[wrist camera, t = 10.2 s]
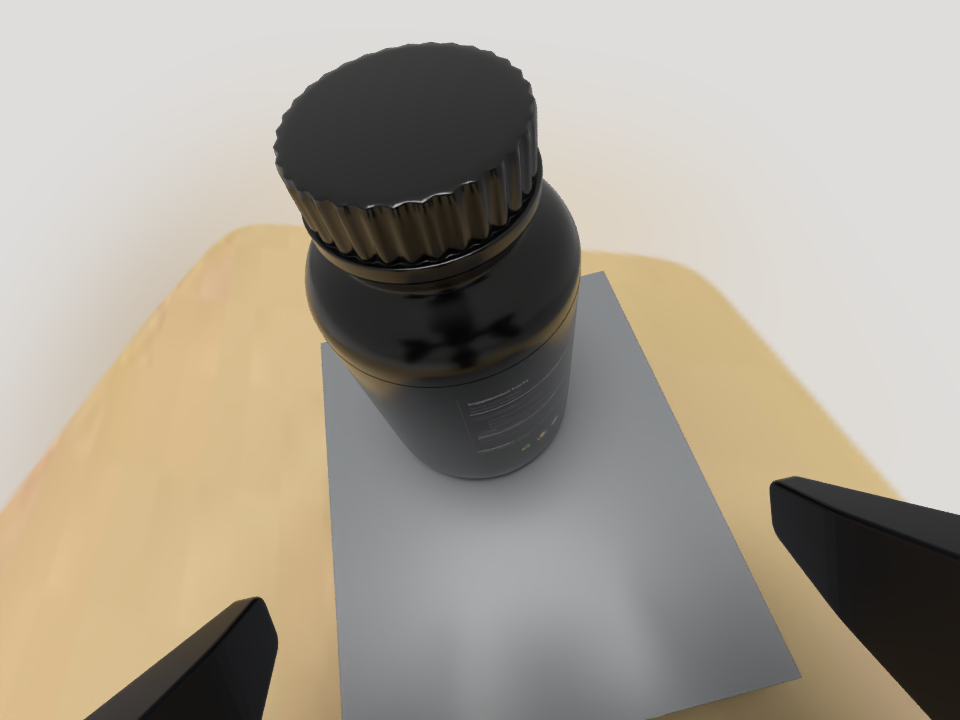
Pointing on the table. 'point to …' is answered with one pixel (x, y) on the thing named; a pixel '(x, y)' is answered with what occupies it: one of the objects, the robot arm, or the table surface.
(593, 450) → the riser block
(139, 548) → the table surface
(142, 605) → the table surface
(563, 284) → the supplement bottle
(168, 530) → the table surface
